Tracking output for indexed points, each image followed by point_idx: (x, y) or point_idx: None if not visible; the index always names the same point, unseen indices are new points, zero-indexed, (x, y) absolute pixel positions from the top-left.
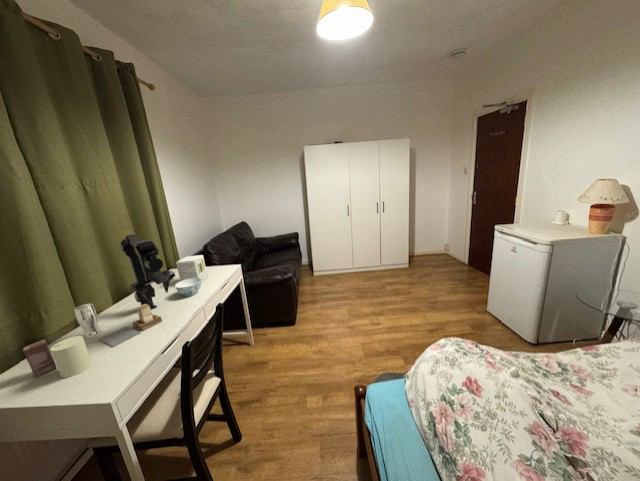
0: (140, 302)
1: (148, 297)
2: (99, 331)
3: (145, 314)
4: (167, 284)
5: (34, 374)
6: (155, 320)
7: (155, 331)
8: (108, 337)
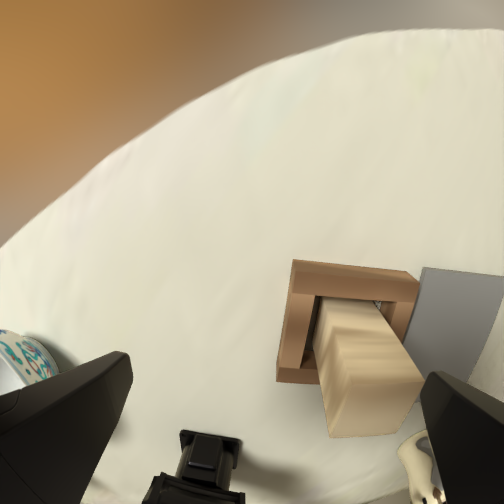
0: (228, 489)
1: (466, 394)
2: (416, 441)
3: (381, 342)
4: (6, 419)
5: None
6: (337, 273)
7: (396, 181)
8: (456, 373)
